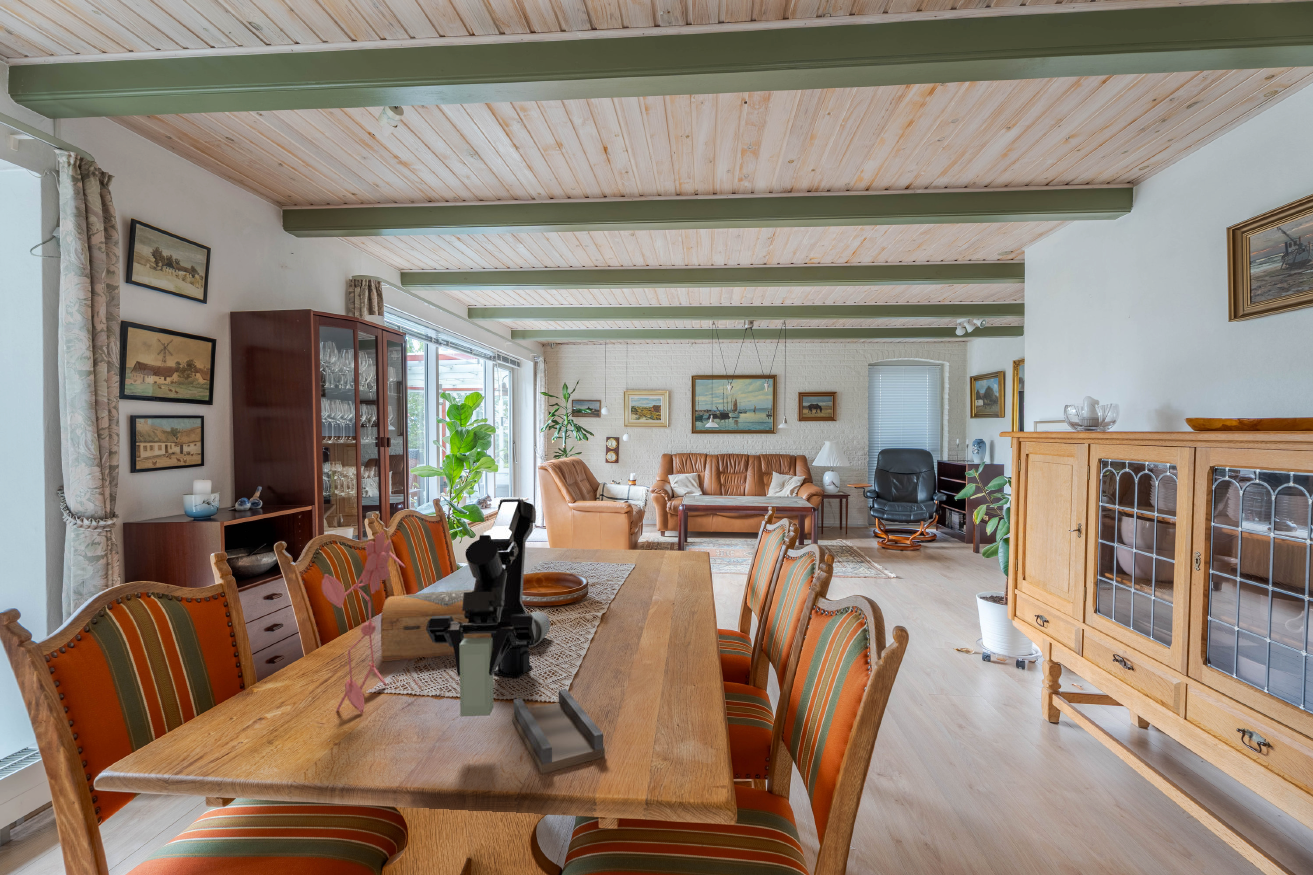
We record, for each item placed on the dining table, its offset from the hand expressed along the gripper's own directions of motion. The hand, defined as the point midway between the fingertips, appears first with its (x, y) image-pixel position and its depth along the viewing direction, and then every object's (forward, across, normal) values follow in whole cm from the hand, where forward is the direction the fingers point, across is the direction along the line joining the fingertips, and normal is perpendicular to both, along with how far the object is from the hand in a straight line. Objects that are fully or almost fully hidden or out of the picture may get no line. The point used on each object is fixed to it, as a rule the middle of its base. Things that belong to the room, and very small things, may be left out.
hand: (474, 674), depth 103 cm
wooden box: (-28, -20, +48) cm, 59 cm away
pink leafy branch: (-6, -25, +25) cm, 36 cm away
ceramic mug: (-28, 0, +48) cm, 55 cm away
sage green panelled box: (+4, 0, +6) cm, 7 cm away
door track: (+7, +13, +12) cm, 19 cm away
